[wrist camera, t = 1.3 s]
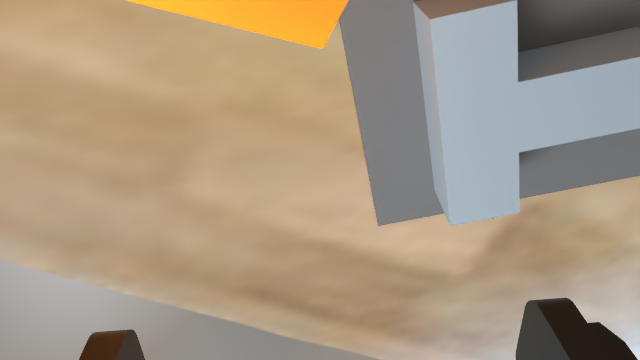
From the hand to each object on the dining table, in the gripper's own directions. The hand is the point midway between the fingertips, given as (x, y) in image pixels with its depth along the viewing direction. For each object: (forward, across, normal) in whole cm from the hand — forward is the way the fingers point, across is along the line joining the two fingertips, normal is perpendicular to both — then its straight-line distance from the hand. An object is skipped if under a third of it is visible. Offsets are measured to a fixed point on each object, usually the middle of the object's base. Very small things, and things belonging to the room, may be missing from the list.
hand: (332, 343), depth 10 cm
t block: (+20, -13, +2) cm, 24 cm away
